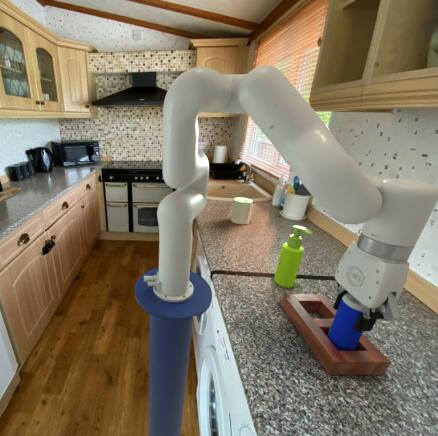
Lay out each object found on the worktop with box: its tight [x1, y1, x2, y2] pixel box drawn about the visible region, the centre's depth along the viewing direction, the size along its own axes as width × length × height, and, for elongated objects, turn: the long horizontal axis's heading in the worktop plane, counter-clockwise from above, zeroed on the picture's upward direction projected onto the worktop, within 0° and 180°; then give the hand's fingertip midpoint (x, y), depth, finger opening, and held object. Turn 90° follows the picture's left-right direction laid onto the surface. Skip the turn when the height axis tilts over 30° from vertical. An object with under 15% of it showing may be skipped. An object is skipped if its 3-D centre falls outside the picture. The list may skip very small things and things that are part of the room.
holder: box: [280, 293, 392, 376], centre depth 60 cm, size 12×20×4 cm, turn 0°
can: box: [230, 196, 254, 225], centre depth 124 cm, size 9×9×12 cm
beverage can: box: [327, 293, 375, 351], centre depth 53 cm, size 5×5×15 cm
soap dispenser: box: [273, 224, 314, 289], centre depth 75 cm, size 6×7×20 cm
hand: (350, 318), depth 52 cm, fingers closed on beverage can, 5 cm apart
